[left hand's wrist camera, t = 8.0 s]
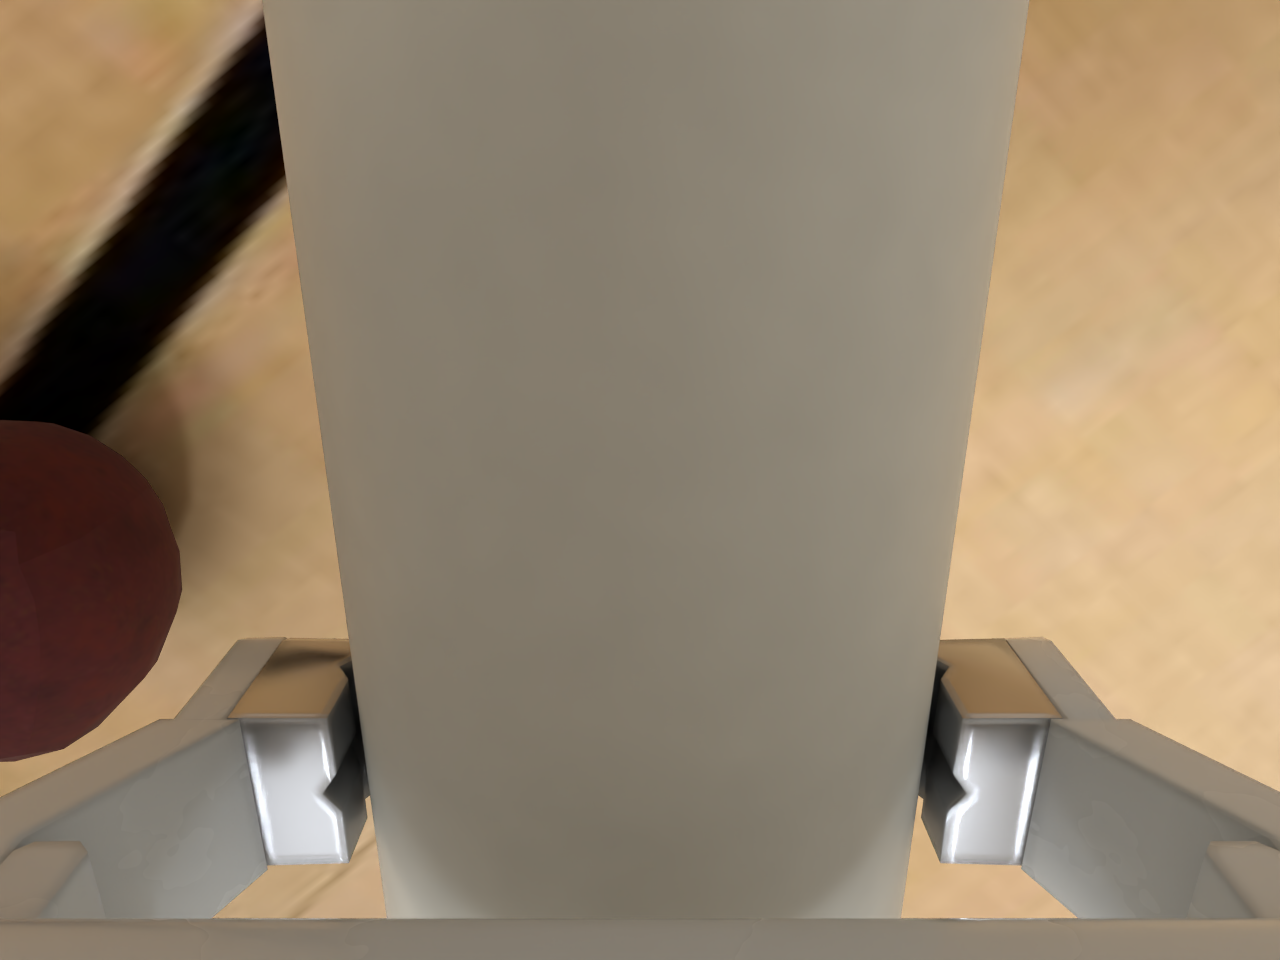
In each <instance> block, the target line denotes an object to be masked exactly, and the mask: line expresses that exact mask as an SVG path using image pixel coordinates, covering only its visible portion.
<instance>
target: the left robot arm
mask: <svg viewBox="0 0 1280 960" xmlns="http://www.w3.org/2000/svg"><path fill="white" fill-rule="evenodd" d="M918 795H919V796H920V797H922V798H923V799H924V800H923V808H922V815H921V818H922V821H923V823H924V825H925V828H926V830H927V832H928V835H929V837H930V840H931V842H932V844H933V847H934V849H935V851H936V854H937V856H938V858H939V861H940V863H957V864H994V865H1022V867H1021V869H1022V870H1023V871H1024V872H1025V873H1027V874H1028V875H1029V876H1030V877H1031V878H1032V879H1034V880H1035V881H1036V882H1037V883H1038V884H1039V885H1041V886H1042V887H1043V888H1044V889H1045V890H1046V891H1048V892H1049V893H1050V894H1051V895H1052V896H1053V897H1054V898H1056V899H1057V900H1058V901H1059V902H1060V903H1061V904H1063V905H1064V906H1065V907H1066V908H1067V909H1068V910H1070V911H1071V912H1072V913H1073V914H1074V915H1075V916H1077V917H1078V918H816V919H635V918H633V919H631V918H212V917H213V916H215V915H216V914H217V913H218V912H219V911H220V910H222V909H223V908H224V907H225V906H226V905H227V904H228V903H230V902H231V901H232V900H233V899H234V898H235V897H236V896H238V895H239V894H240V893H241V892H242V891H243V890H245V889H246V888H247V887H248V886H249V885H250V884H251V883H253V882H254V881H255V880H256V879H257V878H258V877H260V876H261V875H262V874H263V873H264V872H265V871H266V870H267V865H294V864H330V863H349V861H350V859H351V856H352V854H353V851H354V849H355V846H356V844H357V842H358V839H359V837H360V834H361V832H362V829H363V827H364V824H365V822H366V819H367V811H366V803H365V798H367V797H368V796H370V790H369V783H368V776H367V768H366V761H365V753H364V746H363V739H362V731H361V724H360V717H359V709H358V702H357V695H356V687H355V680H354V673H353V665H352V658H351V650H350V643H349V639H317V638H289V639H287V638H285V637H272V638H245V639H241V640H238V641H237V642H236V643H235V644H234V645H233V646H232V648H231V649H230V650H229V651H228V653H227V654H226V655H225V656H224V658H223V659H222V660H221V661H220V663H219V664H218V665H217V666H216V667H215V669H214V670H213V671H212V672H211V674H210V675H209V676H208V677H207V679H206V680H205V681H204V682H203V684H202V685H201V686H200V687H199V689H198V690H197V691H196V692H195V693H194V695H193V696H192V697H191V698H190V700H189V701H188V702H187V703H186V705H185V706H184V707H183V708H182V710H181V711H180V712H179V713H178V715H177V716H176V717H175V718H174V719H159V720H157V721H155V722H153V723H151V724H149V725H147V726H145V727H143V728H141V729H139V730H137V731H135V732H133V733H131V734H129V735H127V736H124V737H122V738H120V739H118V740H116V741H114V742H112V743H110V744H108V745H106V746H104V747H102V748H100V749H98V750H96V751H94V752H92V753H90V754H88V755H86V756H84V757H82V758H80V759H78V760H75V761H73V762H71V763H69V764H67V765H65V766H63V767H61V768H59V769H57V770H55V771H53V772H51V773H49V774H47V775H45V776H43V777H41V778H39V779H37V780H35V781H33V782H31V783H29V784H26V785H24V786H22V787H20V788H18V789H16V790H14V791H12V792H10V793H8V794H6V795H4V796H2V797H0V960H1280V792H1279V791H1277V790H1274V789H1272V788H1270V787H1268V786H1266V785H1264V784H1262V783H1260V782H1258V781H1256V780H1254V779H1252V778H1250V777H1248V776H1246V775H1244V774H1242V773H1240V772H1237V771H1235V770H1233V769H1231V768H1229V767H1227V766H1225V765H1223V764H1221V763H1219V762H1217V761H1215V760H1213V759H1211V758H1209V757H1207V756H1205V755H1203V754H1200V753H1198V752H1196V751H1194V750H1192V749H1190V748H1188V747H1186V746H1184V745H1182V744H1180V743H1178V742H1176V741H1174V740H1172V739H1170V738H1168V737H1166V736H1164V735H1161V734H1159V733H1157V732H1155V731H1153V730H1151V729H1149V728H1147V727H1145V726H1143V725H1141V724H1139V723H1137V722H1135V721H1133V720H1131V719H1115V717H1114V716H1113V715H1112V714H1111V713H1110V711H1109V710H1108V709H1107V708H1106V707H1105V705H1104V704H1103V703H1102V702H1101V700H1100V699H1099V698H1098V697H1097V696H1096V694H1095V693H1094V692H1093V691H1092V690H1091V688H1090V687H1089V686H1088V685H1087V684H1086V682H1085V681H1084V680H1083V679H1082V677H1081V676H1080V675H1079V674H1078V673H1077V671H1076V670H1075V669H1074V668H1073V667H1072V665H1071V664H1070V663H1069V662H1068V661H1067V659H1066V658H1065V657H1064V656H1063V654H1062V653H1061V652H1060V651H1059V650H1058V648H1057V647H1056V646H1055V645H1054V644H1053V642H1052V641H1050V640H1048V639H1046V638H1043V637H1029V638H1001V639H960V640H940V642H939V649H938V656H937V664H936V671H935V678H934V685H933V692H932V699H931V706H930V713H929V721H928V728H927V735H926V742H925V749H924V756H923V763H922V771H921V778H920V785H919V792H918Z"/></svg>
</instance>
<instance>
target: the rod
mask: <svg viewBox="0 0 1280 960" xmlns="http://www.w3.org/2000/svg"><path fill="white" fill-rule="evenodd" d="M262 3H263V10H264V18H265V25H266V32H267V40H268V47H269V54H270V62H271V69H272V76H273V84H274V91H275V99H276V106H277V113H278V121H279V128H280V135H281V143H282V150H283V157H284V165H285V172H286V179H287V187H288V194H289V202H290V209H291V216H292V224H293V231H294V238H295V246H296V253H297V260H298V268H299V275H300V283H301V290H302V297H303V305H304V312H305V319H306V327H307V334H308V341H309V349H310V356H311V363H312V371H313V378H314V386H315V393H316V400H317V408H318V415H319V422H320V430H321V437H322V444H323V452H324V459H325V466H326V474H327V481H328V489H329V496H330V503H331V511H332V518H333V525H334V533H335V540H336V547H337V555H338V562H339V569H340V577H341V584H342V592H343V599H344V606H345V614H346V621H347V628H348V636H349V643H350V650H351V658H352V665H353V673H354V680H355V687H356V695H357V702H358V709H359V717H360V724H361V731H362V739H363V746H364V753H365V761H366V768H367V776H368V783H369V790H370V798H371V805H372V812H373V820H374V827H375V834H376V842H377V849H378V856H379V864H380V871H381V879H382V886H383V893H384V901H385V908H386V915H387V918H631V919H633V918H635V919H816V918H901V913H902V906H903V899H904V892H905V885H906V878H907V871H908V863H909V856H910V849H911V842H912V835H913V828H914V821H915V813H916V806H917V799H918V792H919V785H920V778H921V771H922V763H923V756H924V749H925V742H926V735H927V728H928V721H929V713H930V706H931V699H932V692H933V685H934V678H935V671H936V664H937V656H938V649H939V642H940V635H941V628H942V621H943V614H944V606H945V599H946V592H947V585H948V578H949V571H950V564H951V556H952V549H953V542H954V535H955V528H956V521H957V514H958V506H959V499H960V492H961V485H962V478H963V471H964V464H965V457H966V449H967V442H968V435H969V428H970V421H971V414H972V407H973V399H974V392H975V385H976V378H977V371H978V364H979V357H980V349H981V342H982V335H983V328H984V321H985V314H986V307H987V299H988V292H989V285H990V278H991V271H992V264H993V257H994V250H995V242H996V235H997V228H998V221H999V214H1000V207H1001V200H1002V192H1003V185H1004V178H1005V171H1006V164H1007V157H1008V150H1009V142H1010V135H1011V128H1012V121H1013V114H1014V107H1015V100H1016V92H1017V85H1018V78H1019V71H1020V64H1021V57H1022V50H1023V43H1024V35H1025V28H1026V21H1027V14H1028V7H1029V0H262Z"/></svg>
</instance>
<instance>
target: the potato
mask: <svg viewBox="0 0 1280 960" xmlns="http://www.w3.org/2000/svg"><path fill="white" fill-rule="evenodd" d="M181 592H182V582H181V567H180V553H179V549H178V546H177V543H176V541H175V538H174V535H173V533H172V530H171V527H170V524H169V521H168V518H167V515H166V512H165V509H164V506H163V504H162V502H161V501H160V499H159V498H158V496H157V495H156V493H155V492H154V490H153V489H152V487H151V486H150V484H149V483H148V481H147V480H146V478H145V477H144V476H142V475H141V474H140V473H139V472H138V471H137V470H136V469H135V468H134V467H133V466H132V465H131V464H130V463H129V462H128V461H127V460H126V459H125V458H124V457H123V456H121V455H120V454H118V453H116V452H115V451H113V450H112V449H110V448H109V447H107V446H106V445H104V444H103V443H101V442H99V441H98V440H96V439H95V438H93V437H92V436H90V435H87V434H84V433H81V432H78V431H75V430H72V429H69V428H66V427H63V426H60V425H57V424H54V423H45V422H35V421H11V420H0V762H8V761H18V760H22V759H26V758H30V757H34V756H38V755H41V754H45V753H49V752H53V751H57V750H61V749H64V748H66V747H67V746H69V745H70V744H72V743H73V742H75V741H76V740H78V739H80V738H81V737H83V736H84V735H86V734H87V733H89V732H90V731H92V730H93V729H95V728H96V727H98V726H99V725H100V724H101V723H102V722H103V721H104V720H105V719H106V718H107V716H108V715H109V714H110V713H111V712H112V711H113V710H114V709H115V708H116V707H117V706H118V705H119V704H120V703H121V702H122V701H123V700H124V699H125V698H126V697H127V696H128V694H129V693H130V692H131V691H132V690H133V689H134V688H135V687H136V686H137V685H138V684H139V683H140V682H141V681H142V680H143V679H144V678H145V676H146V675H147V674H148V672H149V671H150V670H151V668H152V667H153V666H154V664H155V663H156V662H157V660H158V657H159V655H160V652H161V650H162V647H163V645H164V642H165V640H166V637H167V635H168V632H169V630H170V627H171V625H172V622H173V619H174V617H175V614H176V612H177V608H178V604H179V600H180V596H181Z"/></svg>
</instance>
